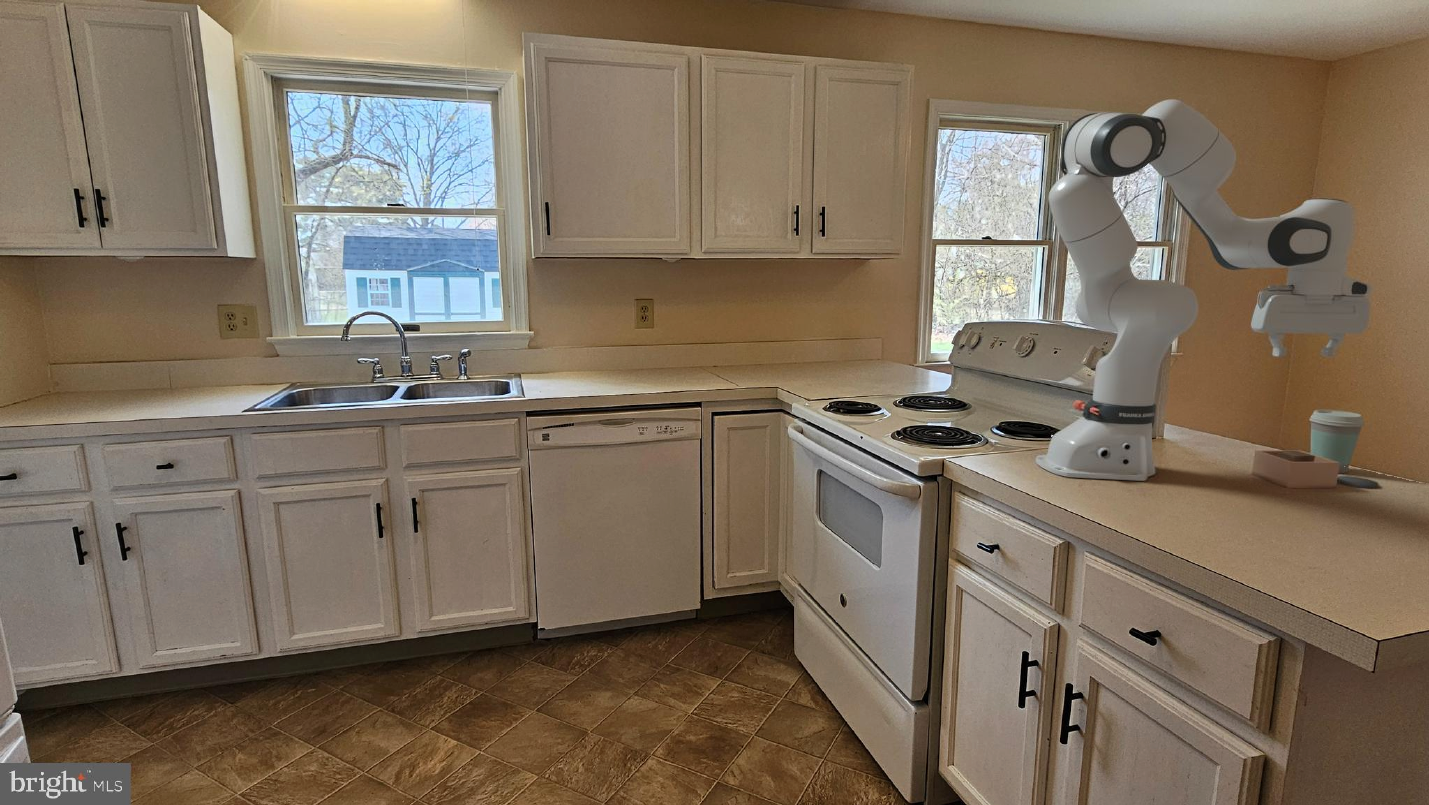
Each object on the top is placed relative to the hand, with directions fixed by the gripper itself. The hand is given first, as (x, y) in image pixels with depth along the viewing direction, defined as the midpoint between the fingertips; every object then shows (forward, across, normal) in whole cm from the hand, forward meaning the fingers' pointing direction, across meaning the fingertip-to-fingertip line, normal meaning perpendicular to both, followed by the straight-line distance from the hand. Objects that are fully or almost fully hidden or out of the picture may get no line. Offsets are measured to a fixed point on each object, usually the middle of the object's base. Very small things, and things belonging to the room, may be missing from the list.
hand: (1303, 356), depth 141 cm
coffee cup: (+24, +12, +3) cm, 27 cm away
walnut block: (+24, -2, -5) cm, 24 cm away
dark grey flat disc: (+24, +9, -7) cm, 27 cm away
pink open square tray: (+24, -2, -5) cm, 25 cm away
